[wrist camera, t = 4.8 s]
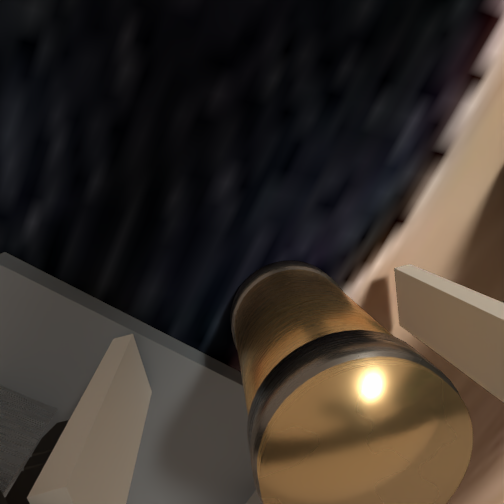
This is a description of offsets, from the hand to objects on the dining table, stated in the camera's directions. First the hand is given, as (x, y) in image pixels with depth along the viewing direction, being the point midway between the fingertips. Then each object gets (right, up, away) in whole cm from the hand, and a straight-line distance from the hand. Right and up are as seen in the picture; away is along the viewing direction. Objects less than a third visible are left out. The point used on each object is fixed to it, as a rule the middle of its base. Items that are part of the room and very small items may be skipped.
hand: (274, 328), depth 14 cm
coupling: (+1, +1, +1) cm, 1 cm away
